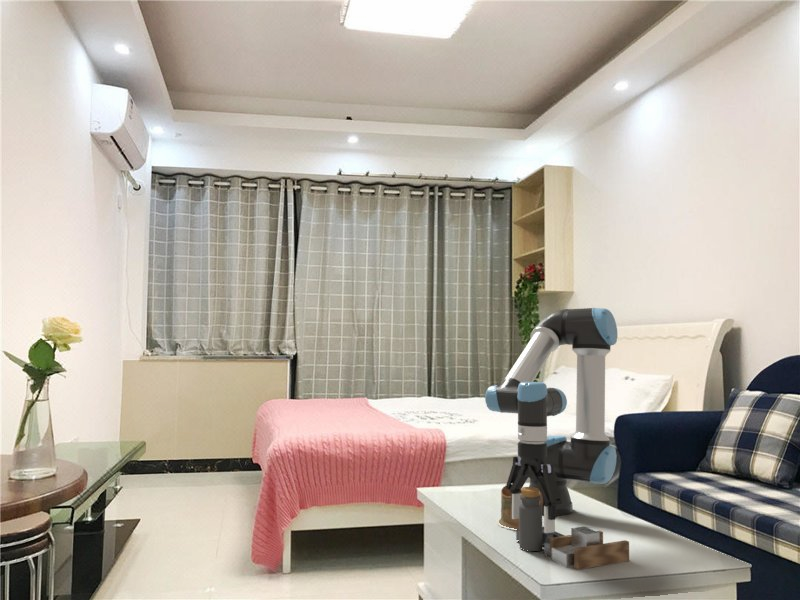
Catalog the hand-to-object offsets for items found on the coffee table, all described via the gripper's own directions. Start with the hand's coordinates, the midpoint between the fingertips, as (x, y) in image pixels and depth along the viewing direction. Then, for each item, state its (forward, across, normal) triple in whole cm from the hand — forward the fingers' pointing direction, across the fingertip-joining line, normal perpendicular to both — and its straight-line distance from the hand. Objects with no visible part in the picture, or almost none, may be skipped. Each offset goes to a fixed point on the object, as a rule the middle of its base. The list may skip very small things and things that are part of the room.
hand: (532, 525), depth 159 cm
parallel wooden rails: (+6, +12, +8) cm, 16 cm away
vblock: (+6, 0, +4) cm, 7 cm away
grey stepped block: (+6, +12, +4) cm, 14 cm away
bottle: (+6, 0, -1) cm, 6 cm away
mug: (+6, -16, +9) cm, 19 cm away
